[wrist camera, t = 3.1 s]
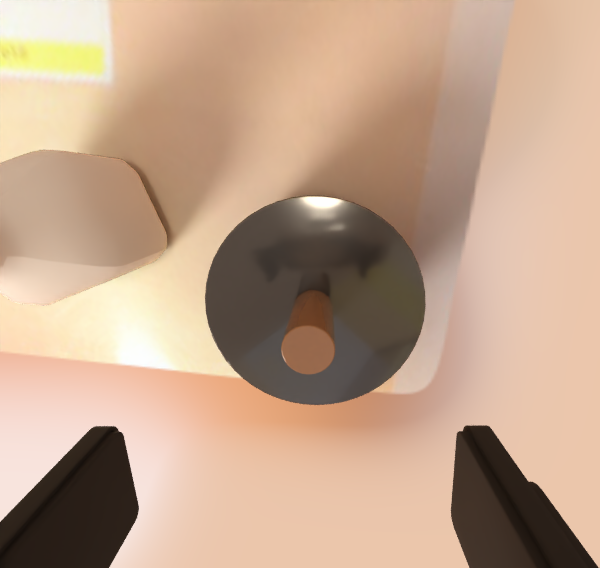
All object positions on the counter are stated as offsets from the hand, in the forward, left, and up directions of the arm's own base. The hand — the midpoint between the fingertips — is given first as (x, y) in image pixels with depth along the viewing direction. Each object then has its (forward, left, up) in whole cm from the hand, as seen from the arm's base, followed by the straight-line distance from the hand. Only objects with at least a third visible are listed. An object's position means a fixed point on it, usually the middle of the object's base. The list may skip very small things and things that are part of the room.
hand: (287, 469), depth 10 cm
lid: (0, 0, -14) cm, 14 cm away
